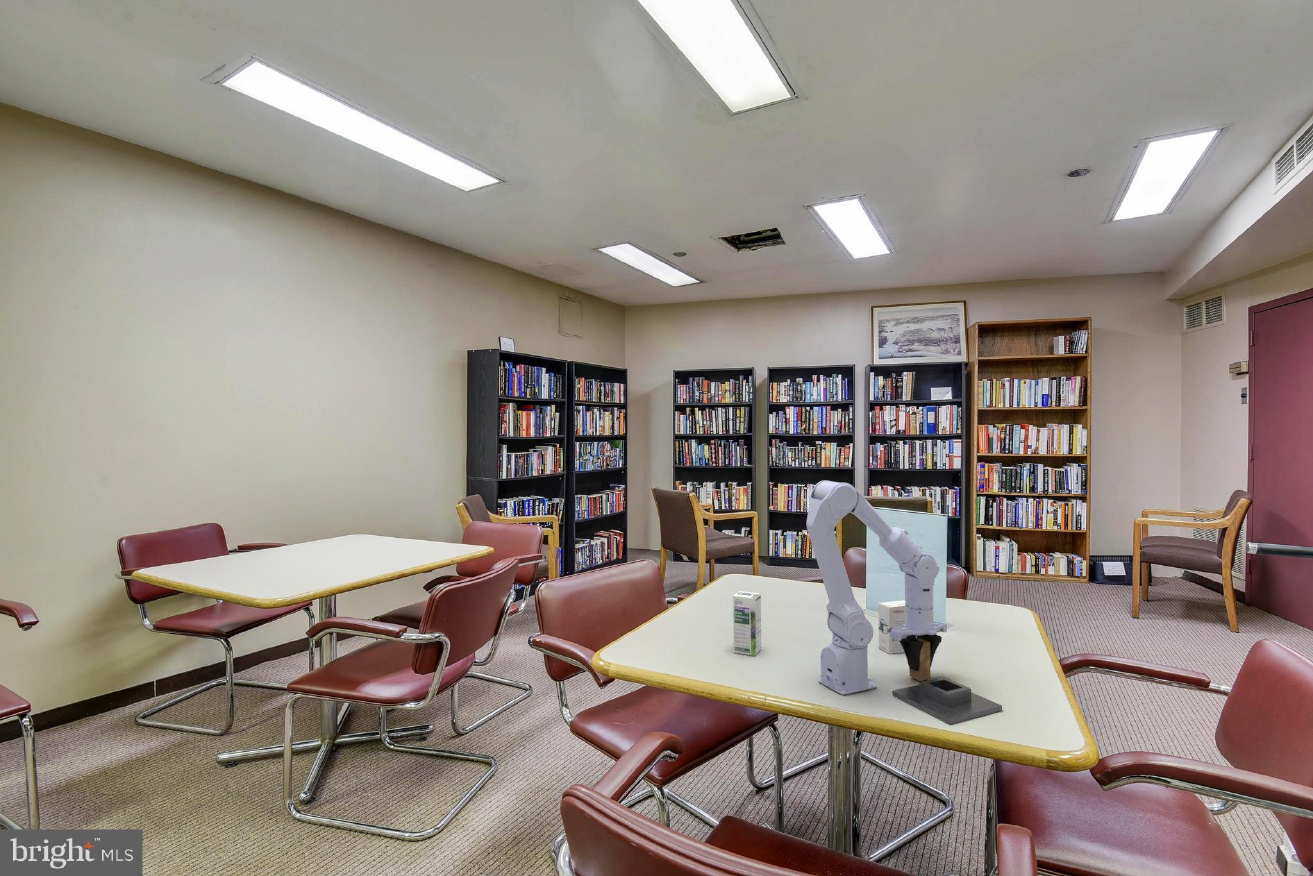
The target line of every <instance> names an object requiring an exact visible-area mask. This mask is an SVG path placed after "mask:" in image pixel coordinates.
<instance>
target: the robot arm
mask: <svg viewBox="0 0 1313 876" xmlns="http://www.w3.org/2000/svg"><path fill="white" fill-rule="evenodd" d="M808 499H809V506H808V510H807V511H808V512H807V517H806V523H805V524H806V530H807V533H808V535H809V539H810V543H811V545H812V548H813V552H814V555H815V560H816V563H817V566H818V569H819V573H820V575H821V578H822V581H823V585H824V589H825V591H826V595H827V597H828V603H827V604H826V607H825V608H826V611H827V619H826V622H827V624H826V625H827V628H828V629H829V631H830V632H831V633H832V640H831V641H832V642H831V643H830V644H829V645H827V646H825V647H824V648H822V649H821V652H820V678H819V679H818V682H819V683H820V684H822V685H824V686H825V687H826V688H827V687H828V688H829V689H831V690H832V691H834V692H836V693H838V694H840V695H841V696H842V695H843V696H845V694H846V695H850V694H854V693H858V692H863V691H867V690H873V689H877V688H878V685H877V684H876V683H874V682H872V681H870V680H869V679H868V677H869V676H868V675H869V670H868V669H869V667H868V665H869V664H868V658H869V657H868V646H869V644H870V643H871V641H872V640H873V637H874V628H873V625H872V623H871V622H870V621H869V620H868V619H867V618H866V616H865V613H864V610H863V608H862V607H861V606H860V605H859V603H858V601H857V600H856V599H855V595H854V592H853V589H852V585H851V582H850V579H849V576H848V573H847V569H846V566H845V562H844V559H843V556H842V553H841V550H840V546H839V542H838V539H837V537H836V536H837V535H836V532H835V528H836V526H837V525H838V524H839V522H840V521H841V520H842V519H843V518H844V517H846V516H847V515H848V514H853V515H854V516H855V517H856V518H857V519H859V521H861V522H862V523H863V524H864V525H865V526H867V528H868V529H870V531H871V532H872V533H874V534H875V535H876V536H877V537H878V538H879V539H878V540H879V541H878V543H879V547H881V548H882V549H883V550H884V551H885V552H886V553H887V554H888V555H889V556H890V557H891V558H892V559H893V560H894V561H895V562H896V563H897V564H898V568H899V570H900V572H902V573H904V600H905V624H904V625H902V626H900V627H898V628H895V629H891V638H892V639H895V640H897V641H899V642H900V644H901V645H902V647H903V649H904V652H903V653H904V654H905V657H906V661H907V664H908V668H910V669H912V670H914V671H918V670H919V666H920V653H921V649H922V646H923V644H924V642H922V641H919V640H918V638H920V639H923V640H925V641H928V642H930V669H931V668H932V664H933V660H934V656H935V654H936V651H937V649H938V647H939V645H940V644H941V642H942V640H943V639H942V638H943V637H942V636H941V635H939V634H937V633H947V632H948V628H947V627H948V624H947V623H946V622H943V621H940V620H939V621H937V620H936V621H934V586H935V580H936V578H937V576H938V574H939V571H940V566H938V564H937V563H936V562H937V561H936V560H935V558H934V557H933V556H932V555H930V554H927V553H924V552H923V547H922V546H921V545H920V544H917V543H915V542H914V540H913V539H912V538H910V536H909V531H907V529H903V528H900V527H896V526H895V527H892V526H891V525H890V524H889V523H888V522H887V521H886V520H885V519H884V518H883V517H882V516H881V514H880V513H878V511H877V510H876V508H874V507H873V506H872V504H871V503H870V502H869V501H868V500H867V499H866V497H864V495H863V493H861V492H860V491H859V490H857V489H856V488H855V487H854V486H853V485H852V484H850V483H848V482H838V481H831V480H827V479H826V480H824V479H823V480H821V481H819V482H817V483H816V484H815V485H814V486H813V489H811V491H810V493H809V494H808ZM916 637H917V638H916Z"/></svg>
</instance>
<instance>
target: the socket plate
mask: <svg viewBox="0 0 1313 876" xmlns="http://www.w3.org/2000/svg"><path fill="white" fill-rule="evenodd" d="M919 682H920V684H916V685H912V686H907V687H903V688H899V689H893V690H892V692H891V693H892V694H891V695H893V697H894V696H895V697H894V698H896V697H897V698H896V699H898V698H899V699H898V700H900V699H901V700H900V701H902V702H905V703H906V704H908V705H910V706H912V707H914V708H916V709H918V710H920V711H922V712H924V713H925V714H928V715H930V716H931V717H934V718H936V719H938V720H939V721H942V722H943V723H946V724H948V725H954V724H958V723H961V722H966V721H969V720H972V719H976V718H980V717H984V716H987V715H991V714H995V713H998V712H1001V711H1003V705H1002V704H999V703H997V702H994V701H993V700H990V699H988V698H986V697H983V696H981V695H979V694H977V693H973V692H972V688H971V687H968V686H966V685H964V684H961V683H960V682H956V681H954V680H952V679H949V678H947V677H945V676H941V677H937V678H932V679H927V680H923V681H919Z"/></svg>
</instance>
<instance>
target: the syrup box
mask: <svg viewBox="0 0 1313 876" xmlns="http://www.w3.org/2000/svg"><path fill="white" fill-rule="evenodd" d="M732 607H733V608H732V610H733V613H732V615H733V617H732V618H733V654H739V655H741V654H742V655H745V656H751V657H752V656H753V657H755V656H756V655H757V654H758V653H760V651H761V650H762V593H761V592H760V593H759V592H749V591H743V590H739V591H738V592H736V593H734V594H733V596H732Z"/></svg>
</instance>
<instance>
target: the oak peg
mask: <svg viewBox="0 0 1313 876" xmlns="http://www.w3.org/2000/svg"><path fill="white" fill-rule="evenodd" d="M918 640H919V641H922V642H924V644H923V646H922V649H921V653H920V666H919V670H918V671H914V670H912V669H910V668H909V667H908V668H909V669H908V670H909V677H911V678H913V679H915V680H917V681H919V682H923V681H928V680H932V679H931V676H932V675H931V668H930V642H928V641H925V640H923V639H920V638H918Z"/></svg>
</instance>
